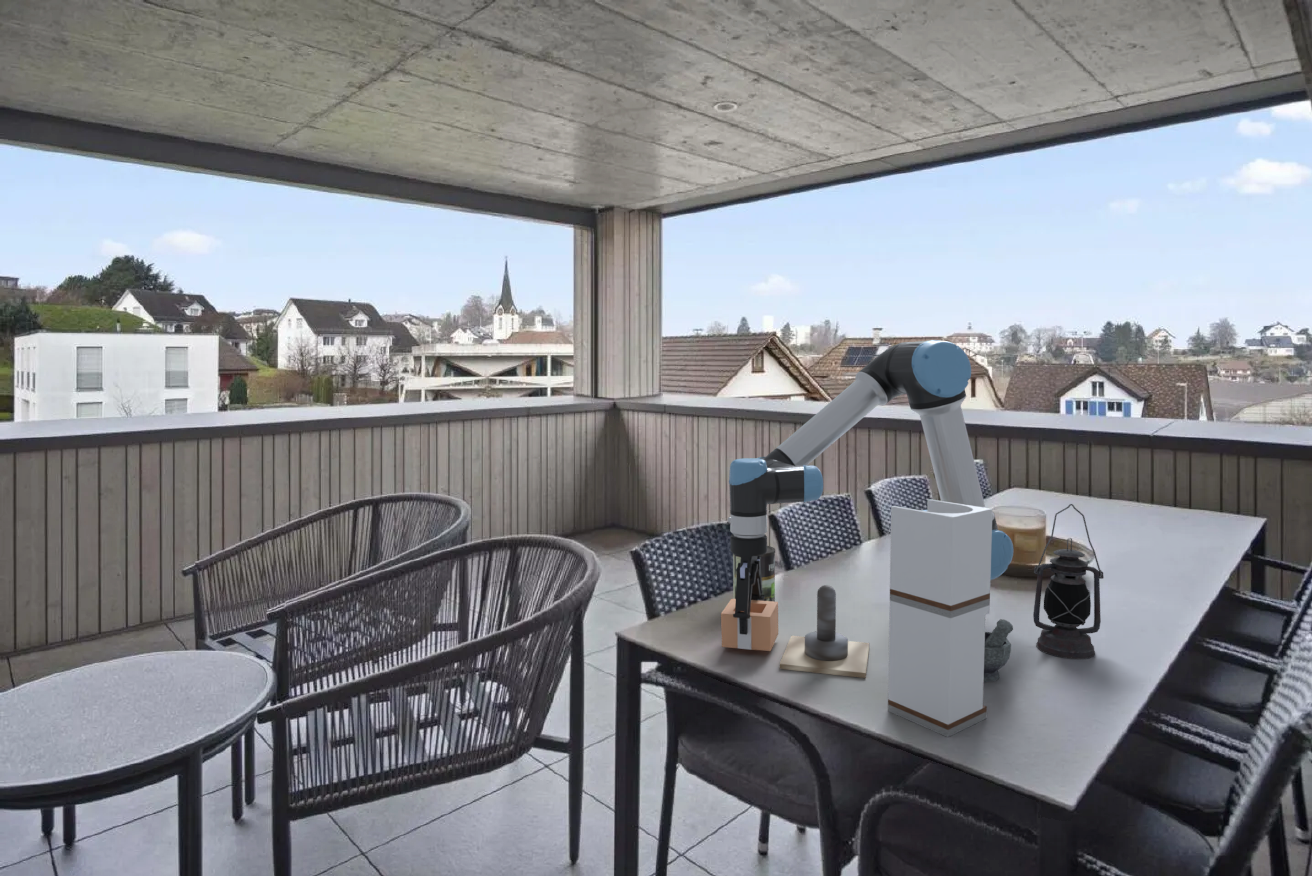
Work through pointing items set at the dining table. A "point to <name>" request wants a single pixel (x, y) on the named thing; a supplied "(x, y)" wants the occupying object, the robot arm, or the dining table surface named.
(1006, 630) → the mortar and pestle
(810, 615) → the dining table surface
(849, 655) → the post stand
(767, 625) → the square collar
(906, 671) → the white square vase
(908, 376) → the robot arm
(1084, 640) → the lantern
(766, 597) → the coffee can
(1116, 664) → the dining table surface
